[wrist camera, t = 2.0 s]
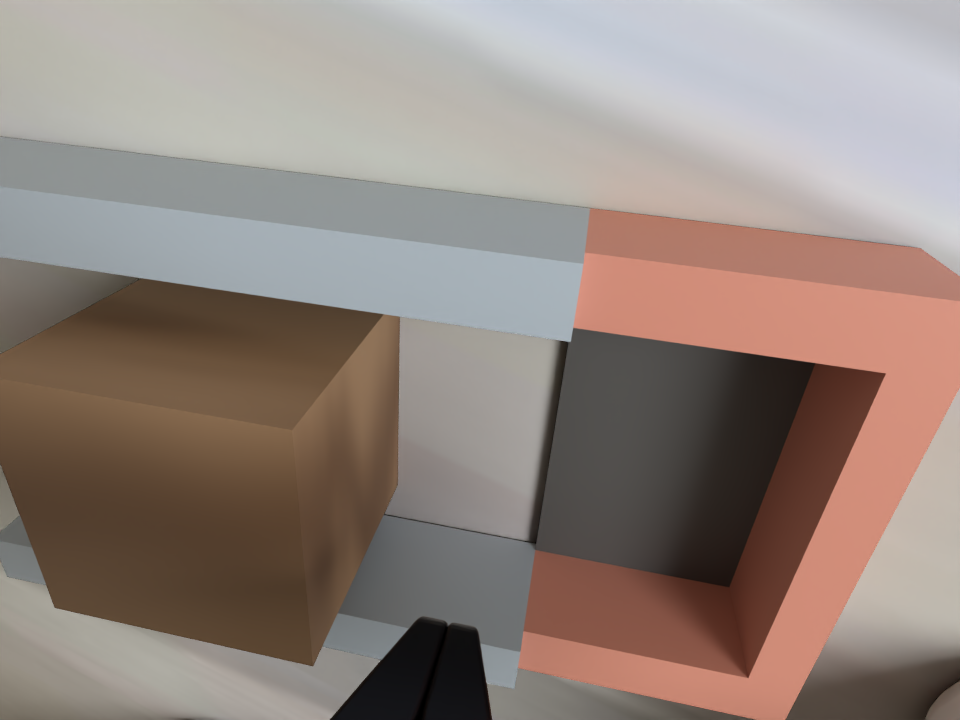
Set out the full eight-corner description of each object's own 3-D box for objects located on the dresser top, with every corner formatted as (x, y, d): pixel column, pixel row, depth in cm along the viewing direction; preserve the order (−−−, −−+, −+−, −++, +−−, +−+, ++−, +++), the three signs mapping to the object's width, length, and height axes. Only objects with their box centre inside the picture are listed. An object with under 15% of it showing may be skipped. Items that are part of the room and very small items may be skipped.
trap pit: (757, 624, 15) (782, 725, 13) (530, 579, 16) (517, 667, 13) (920, 248, 10) (1001, 306, 8) (590, 208, 11) (584, 253, 9)
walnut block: (398, 483, 15) (313, 665, 11) (208, 447, 16) (54, 607, 11) (401, 292, 13) (292, 429, 8) (176, 260, 13) (-34, 372, 9)
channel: (530, 579, 16) (514, 689, 13) (99, 493, 17) (7, 576, 15) (590, 208, 11) (583, 263, 8) (-5, 136, 13) (-165, 165, 10)
